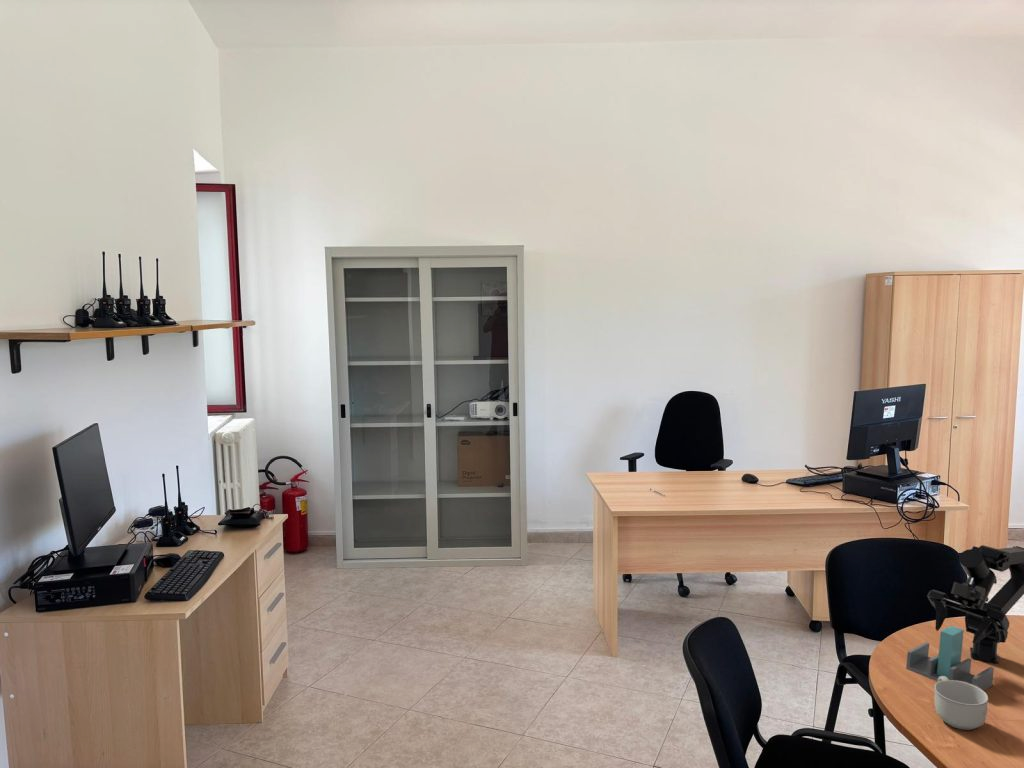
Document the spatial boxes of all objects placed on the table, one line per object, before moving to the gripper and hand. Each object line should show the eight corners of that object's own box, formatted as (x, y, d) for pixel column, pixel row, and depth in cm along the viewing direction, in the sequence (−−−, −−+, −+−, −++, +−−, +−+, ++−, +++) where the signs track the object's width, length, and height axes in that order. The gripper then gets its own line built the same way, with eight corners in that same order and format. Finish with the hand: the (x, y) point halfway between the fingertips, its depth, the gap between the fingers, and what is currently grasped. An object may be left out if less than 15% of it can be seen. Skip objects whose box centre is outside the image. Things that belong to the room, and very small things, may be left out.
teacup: (993, 738, 168) (996, 705, 167) (941, 732, 170) (944, 699, 169) (968, 705, 182) (971, 675, 181) (920, 700, 184) (923, 670, 183)
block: (947, 668, 198) (951, 625, 197) (959, 672, 196) (963, 629, 195) (936, 674, 195) (940, 631, 194) (948, 679, 193) (952, 635, 191)
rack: (924, 658, 205) (926, 642, 205) (992, 685, 191) (993, 667, 191) (906, 668, 200) (907, 651, 199) (974, 696, 186) (975, 678, 185)
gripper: (933, 560, 204) (909, 608, 199) (1009, 583, 188) (985, 635, 184) (944, 582, 209) (922, 629, 204) (1019, 605, 194) (996, 656, 189)
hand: (954, 636), depth 195 cm, fingers open, 9 cm apart
